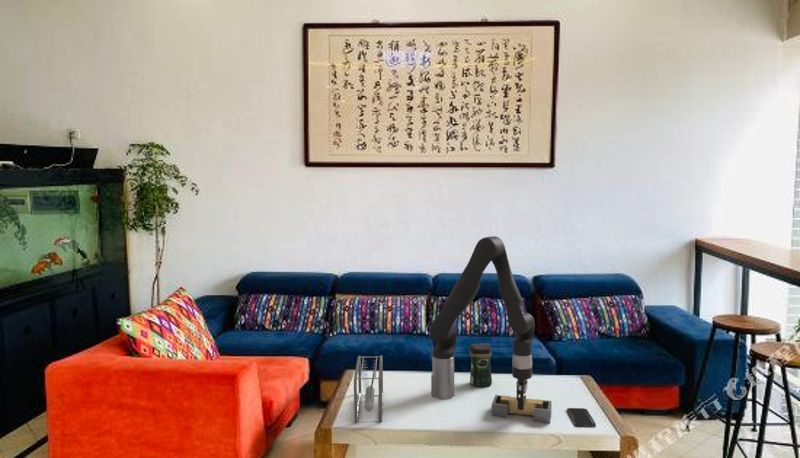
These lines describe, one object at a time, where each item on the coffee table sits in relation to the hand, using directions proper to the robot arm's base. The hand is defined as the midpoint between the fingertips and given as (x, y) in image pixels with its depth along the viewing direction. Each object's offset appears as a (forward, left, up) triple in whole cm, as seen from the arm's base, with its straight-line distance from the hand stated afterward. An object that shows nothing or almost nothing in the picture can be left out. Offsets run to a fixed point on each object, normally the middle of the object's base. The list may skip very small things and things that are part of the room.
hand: (521, 405), depth 220 cm
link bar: (0, 0, -3) cm, 3 cm away
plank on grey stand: (0, 0, -4) cm, 4 cm away
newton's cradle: (-60, -11, -4) cm, 61 cm away
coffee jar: (-21, +28, -4) cm, 35 cm away
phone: (+22, +4, -4) cm, 23 cm away
